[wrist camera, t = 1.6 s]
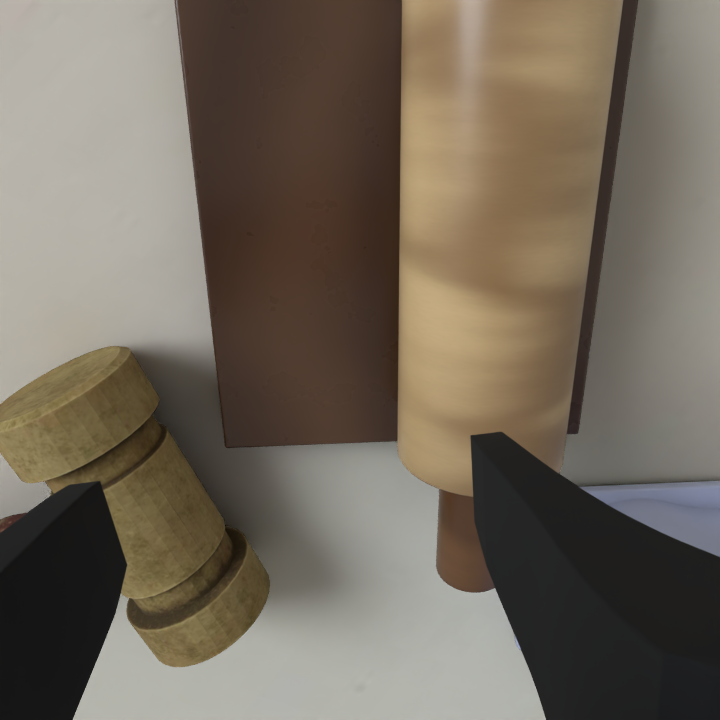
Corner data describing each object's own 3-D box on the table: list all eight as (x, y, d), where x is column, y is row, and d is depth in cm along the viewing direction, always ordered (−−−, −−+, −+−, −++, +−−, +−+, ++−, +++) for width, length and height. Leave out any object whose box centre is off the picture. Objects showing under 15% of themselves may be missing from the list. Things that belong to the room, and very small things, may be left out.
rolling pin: (604, -220, 14) (717, -363, 10) (525, 520, 22) (567, 624, 18) (396, -219, 14) (417, -360, 10) (391, 523, 22) (401, 628, 18)
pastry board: (620, -36, 17) (646, -48, 16) (563, 414, 23) (579, 434, 21) (181, -33, 17) (168, -45, 15) (231, 427, 22) (224, 449, 21)
